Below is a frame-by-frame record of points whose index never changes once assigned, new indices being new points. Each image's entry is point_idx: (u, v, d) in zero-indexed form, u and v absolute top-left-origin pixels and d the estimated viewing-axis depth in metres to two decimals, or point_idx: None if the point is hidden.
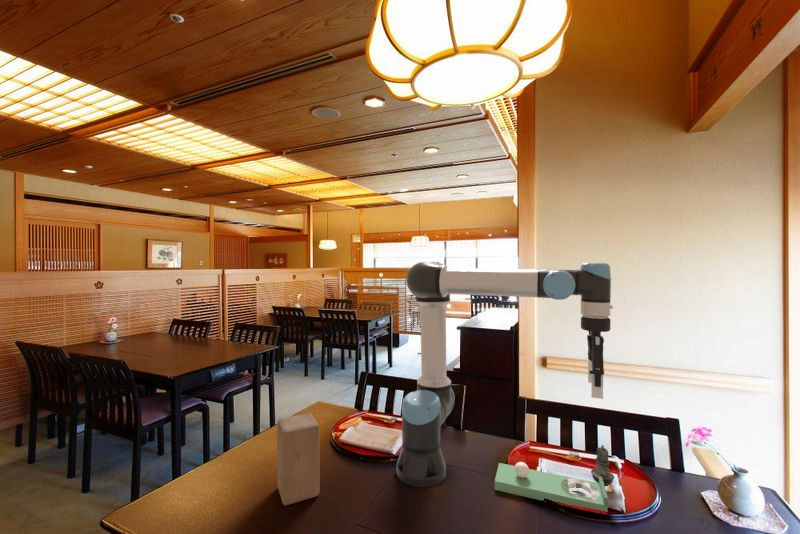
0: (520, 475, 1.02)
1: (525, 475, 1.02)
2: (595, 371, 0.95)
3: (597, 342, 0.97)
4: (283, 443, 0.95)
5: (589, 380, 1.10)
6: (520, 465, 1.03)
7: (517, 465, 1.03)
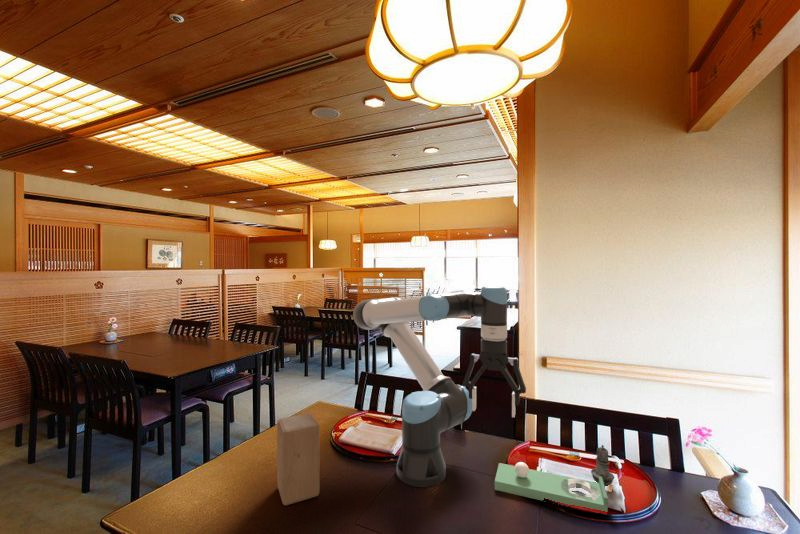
0: (520, 475, 1.02)
1: (525, 475, 1.02)
2: None
3: None
4: (283, 443, 0.95)
5: None
6: (520, 465, 1.03)
7: (517, 465, 1.03)
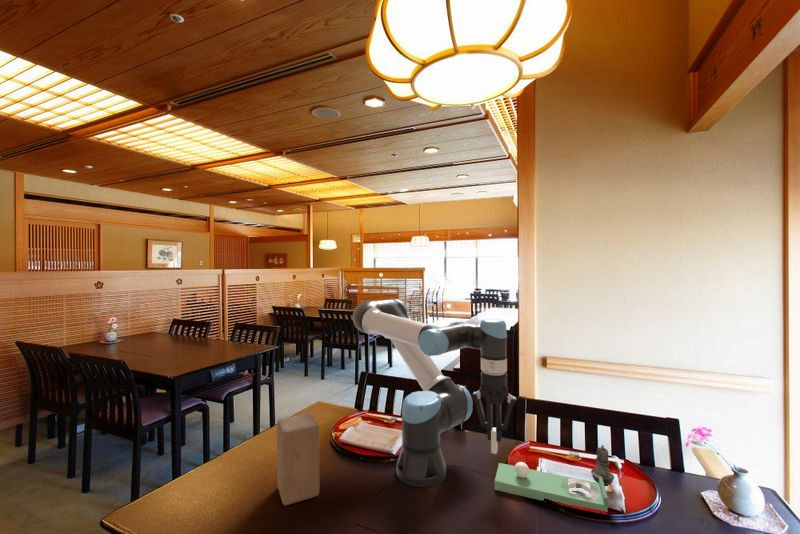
0: (520, 475, 1.02)
1: (525, 475, 1.02)
2: None
3: None
4: (283, 443, 0.95)
5: None
6: (520, 465, 1.03)
7: (517, 465, 1.03)
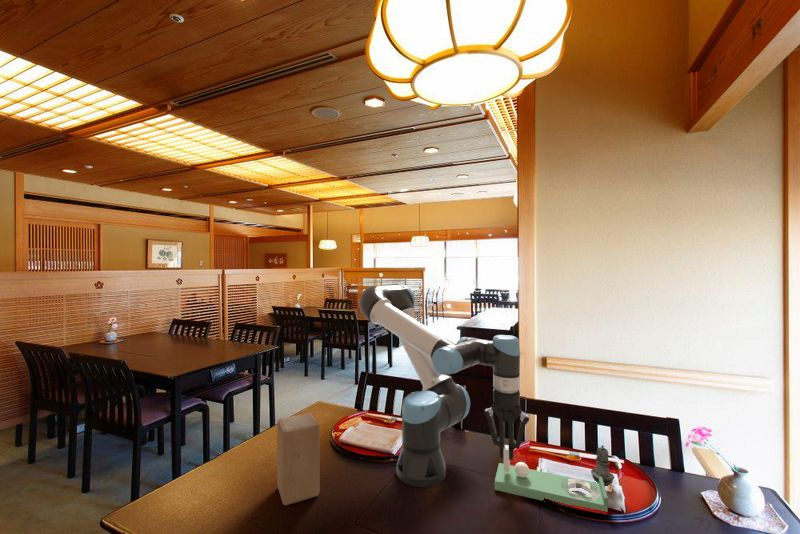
0: (520, 475, 1.02)
1: (525, 475, 1.02)
2: None
3: None
4: (283, 443, 0.95)
5: None
6: (520, 465, 1.03)
7: (517, 465, 1.03)
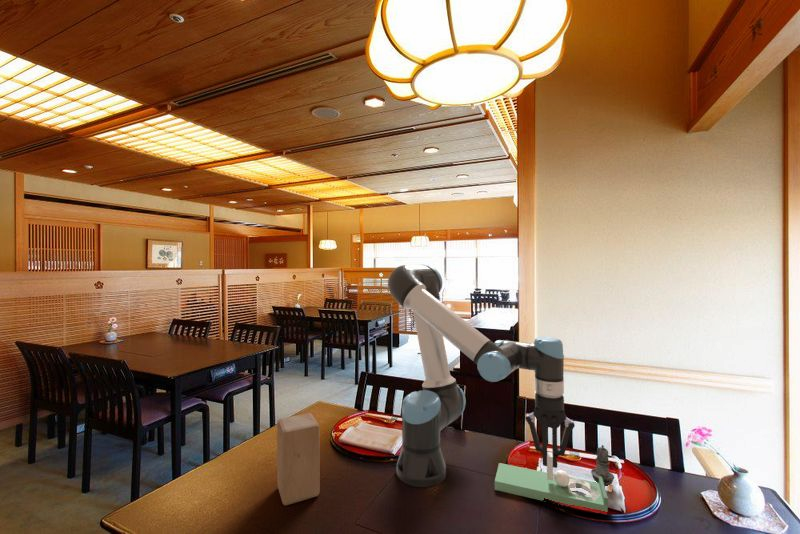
0: (564, 484, 0.98)
1: (566, 479, 0.98)
2: None
3: None
4: (283, 443, 0.95)
5: None
6: (555, 477, 0.99)
7: (554, 479, 0.99)
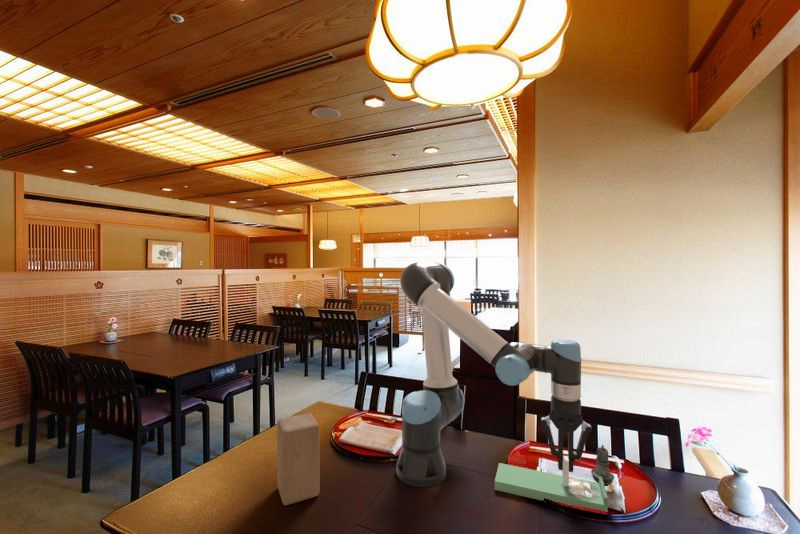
0: None
1: None
2: None
3: None
4: (283, 443, 0.95)
5: None
6: (583, 490, 0.97)
7: (581, 487, 0.97)
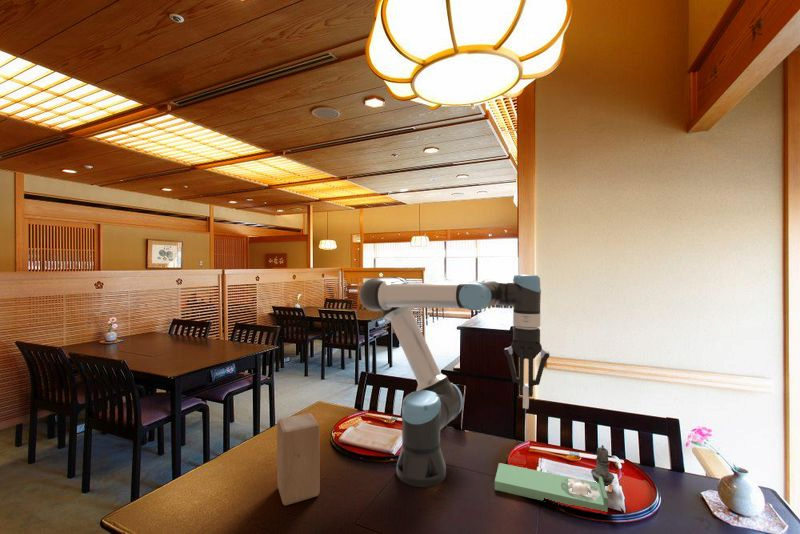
0: (577, 492, 0.97)
1: None
2: None
3: None
4: (283, 443, 0.95)
5: None
6: (586, 493, 0.96)
7: (586, 489, 0.97)
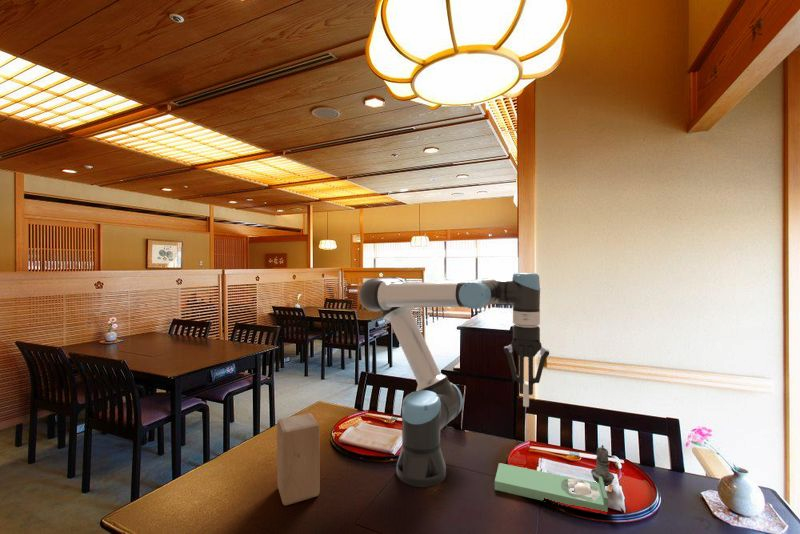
0: (580, 492, 0.96)
1: None
2: None
3: None
4: (283, 443, 0.95)
5: None
6: None
7: (589, 492, 0.96)
